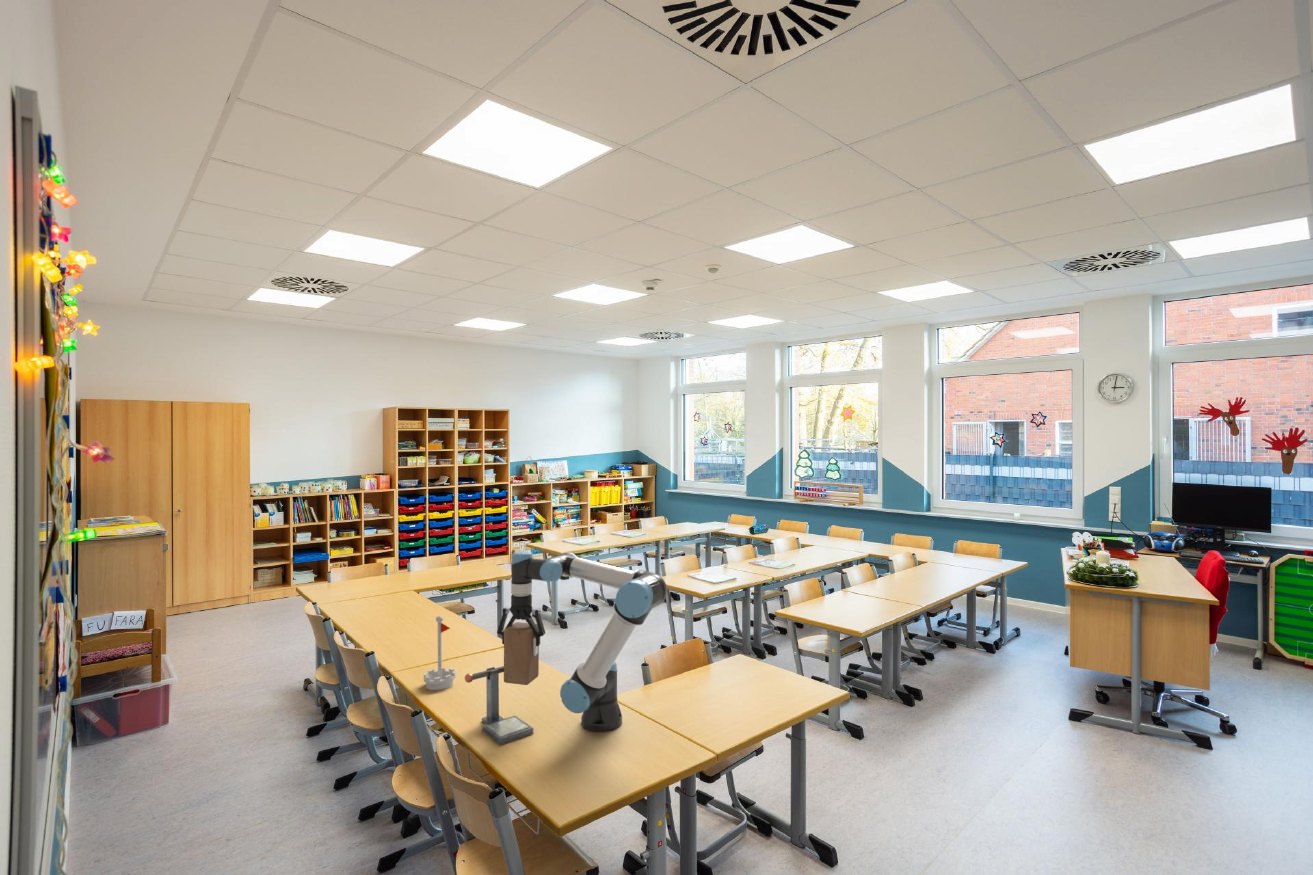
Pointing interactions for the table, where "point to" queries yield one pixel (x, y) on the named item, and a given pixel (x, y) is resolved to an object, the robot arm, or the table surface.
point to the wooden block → (520, 654)
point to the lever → (481, 674)
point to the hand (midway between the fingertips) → (521, 653)
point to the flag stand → (439, 666)
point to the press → (495, 724)
